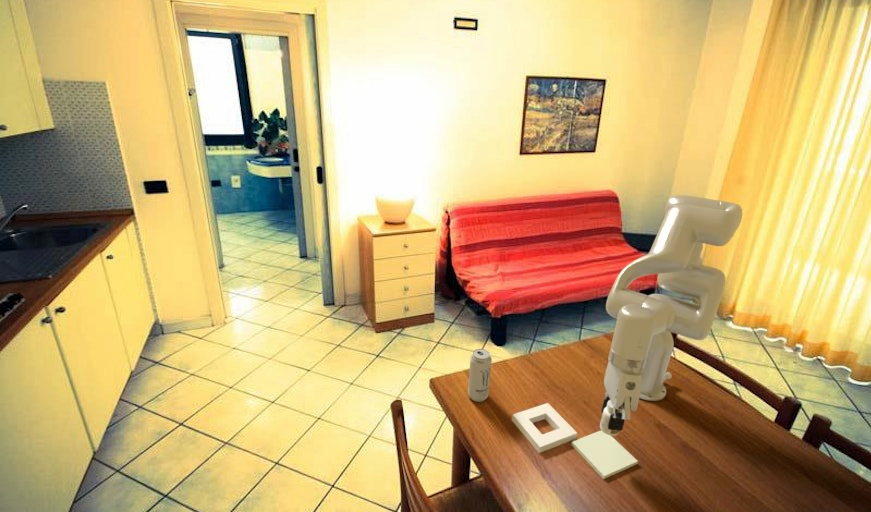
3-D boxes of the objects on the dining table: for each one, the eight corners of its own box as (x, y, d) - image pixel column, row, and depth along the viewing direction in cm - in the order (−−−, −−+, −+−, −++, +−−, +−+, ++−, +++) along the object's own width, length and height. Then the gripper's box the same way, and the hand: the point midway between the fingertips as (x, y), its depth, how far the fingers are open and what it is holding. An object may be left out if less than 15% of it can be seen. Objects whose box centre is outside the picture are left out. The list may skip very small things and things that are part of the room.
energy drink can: (478, 406, 117) (482, 362, 111) (463, 395, 121) (466, 352, 115) (492, 397, 121) (496, 354, 115) (477, 386, 125) (480, 345, 119)
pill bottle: (615, 439, 96) (621, 413, 94) (596, 429, 99) (602, 404, 96) (621, 429, 99) (628, 404, 97) (603, 420, 102) (609, 395, 99)
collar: (546, 408, 117) (547, 402, 116) (576, 438, 107) (577, 433, 106) (511, 420, 112) (512, 414, 111) (538, 453, 102) (539, 447, 101)
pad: (603, 432, 109) (603, 429, 109) (636, 464, 100) (637, 461, 100) (571, 444, 105) (571, 441, 105) (603, 479, 96) (604, 476, 95)
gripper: (659, 383, 83) (640, 450, 90) (631, 338, 99) (616, 398, 106) (621, 380, 84) (605, 447, 91) (599, 336, 100) (586, 395, 106)
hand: (611, 420), depth 98 cm, fingers closed on pill bottle, 4 cm apart
